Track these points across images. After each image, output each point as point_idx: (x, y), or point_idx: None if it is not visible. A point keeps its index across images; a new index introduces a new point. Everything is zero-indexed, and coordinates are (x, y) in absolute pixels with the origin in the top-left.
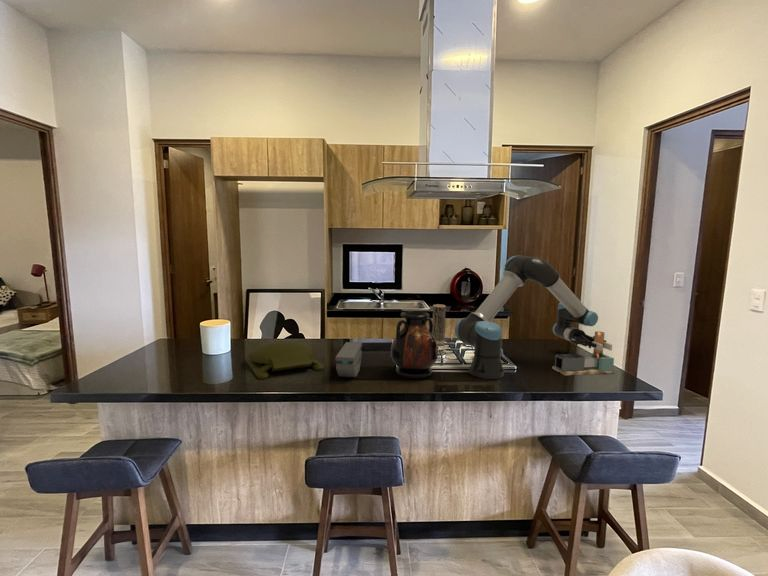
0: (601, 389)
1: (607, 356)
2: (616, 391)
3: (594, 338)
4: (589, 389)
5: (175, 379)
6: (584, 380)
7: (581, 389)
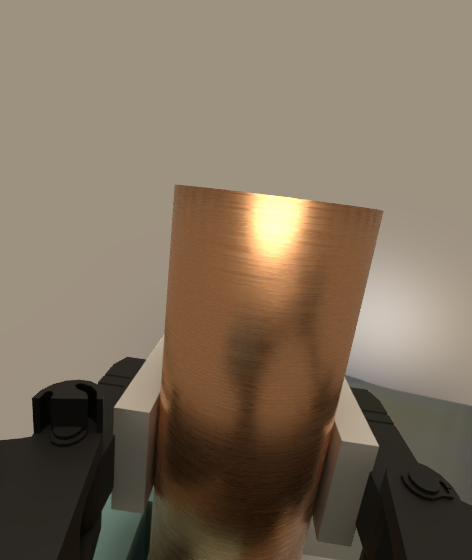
0: (378, 398)
1: (104, 527)
2: None
3: (343, 374)
4: (431, 409)
5: None
6: None
7: (467, 417)
